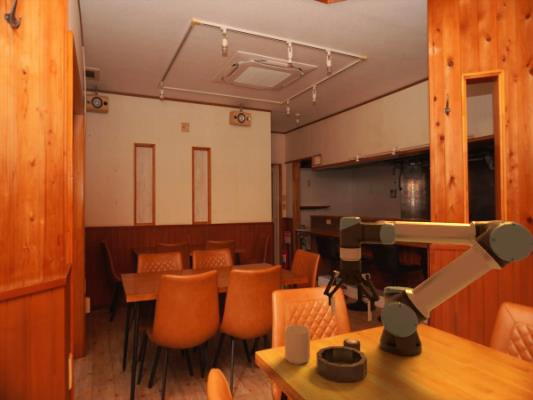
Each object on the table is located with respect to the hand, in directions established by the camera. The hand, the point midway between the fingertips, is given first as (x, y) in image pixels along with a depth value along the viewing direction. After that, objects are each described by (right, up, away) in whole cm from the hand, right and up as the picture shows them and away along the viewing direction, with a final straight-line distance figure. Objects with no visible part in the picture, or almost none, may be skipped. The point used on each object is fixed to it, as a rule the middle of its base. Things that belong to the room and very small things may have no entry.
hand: (351, 317), depth 133 cm
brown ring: (-6, -14, -12) cm, 19 cm away
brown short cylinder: (0, -14, 0) cm, 14 cm away
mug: (-20, -15, -2) cm, 25 cm away
